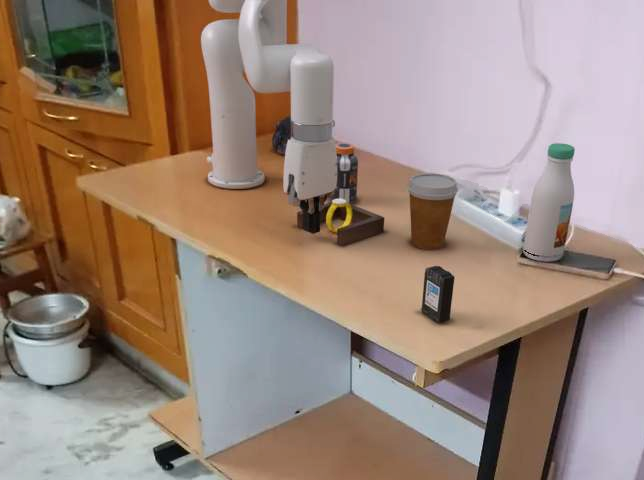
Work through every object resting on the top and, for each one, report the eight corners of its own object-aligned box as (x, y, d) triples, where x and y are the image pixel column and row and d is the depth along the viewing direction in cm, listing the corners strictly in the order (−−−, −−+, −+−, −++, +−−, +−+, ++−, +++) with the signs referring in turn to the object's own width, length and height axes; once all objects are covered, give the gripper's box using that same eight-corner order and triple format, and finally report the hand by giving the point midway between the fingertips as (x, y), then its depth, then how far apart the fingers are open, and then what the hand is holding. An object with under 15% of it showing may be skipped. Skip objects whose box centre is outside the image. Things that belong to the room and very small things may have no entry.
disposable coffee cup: (457, 238, 167) (464, 176, 159) (445, 256, 159) (451, 192, 152) (411, 231, 169) (415, 169, 161) (397, 248, 162) (401, 184, 154)
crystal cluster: (278, 144, 214) (273, 102, 207) (331, 142, 213) (328, 101, 206) (269, 164, 204) (263, 121, 198) (324, 163, 203) (320, 120, 196)
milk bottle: (538, 265, 158) (558, 154, 145) (514, 250, 163) (531, 142, 151) (571, 259, 161) (593, 150, 148) (546, 244, 166) (565, 138, 153)
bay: (297, 226, 168) (296, 211, 166) (338, 213, 175) (338, 199, 173) (342, 246, 161) (342, 230, 159) (383, 232, 168) (384, 217, 166)
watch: (345, 225, 170) (346, 195, 166) (354, 229, 168) (355, 199, 165) (323, 232, 167) (323, 201, 163) (332, 236, 165) (333, 205, 161)
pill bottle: (353, 206, 179) (355, 150, 172) (326, 203, 180) (327, 147, 173) (359, 196, 183) (361, 142, 176) (332, 194, 184) (333, 139, 177)
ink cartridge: (420, 312, 140) (424, 266, 135) (431, 309, 141) (436, 263, 136) (438, 324, 137) (443, 277, 132) (449, 321, 138) (454, 275, 133)
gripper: (327, 119, 158) (326, 217, 169) (266, 133, 149) (269, 234, 160) (355, 128, 154) (352, 227, 165) (295, 143, 145) (295, 246, 156)
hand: (311, 231), depth 163 cm, fingers closed
